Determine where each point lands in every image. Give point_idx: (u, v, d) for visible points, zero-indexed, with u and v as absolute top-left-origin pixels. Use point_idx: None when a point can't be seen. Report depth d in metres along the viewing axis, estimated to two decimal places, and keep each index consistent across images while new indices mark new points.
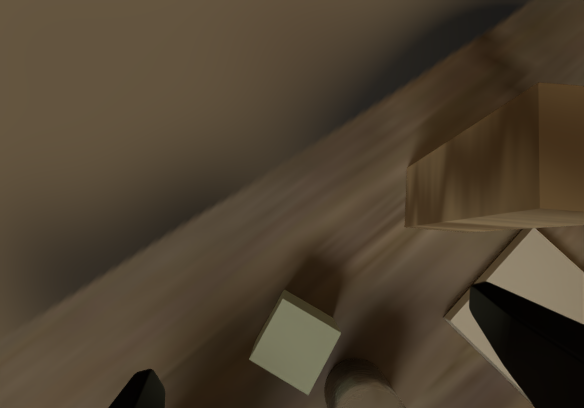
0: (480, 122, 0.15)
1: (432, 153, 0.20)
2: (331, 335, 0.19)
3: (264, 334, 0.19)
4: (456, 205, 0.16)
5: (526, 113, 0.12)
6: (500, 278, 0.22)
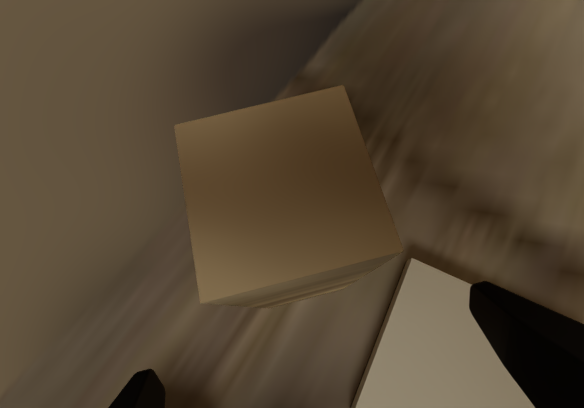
0: None
1: None
2: None
3: None
4: None
5: None
6: (395, 336, 0.17)
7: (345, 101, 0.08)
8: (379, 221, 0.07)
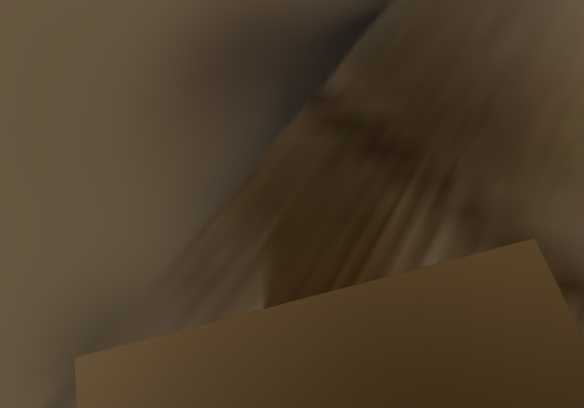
0: None
1: None
2: None
3: None
4: None
5: None
6: None
7: (552, 295, 0.03)
8: None
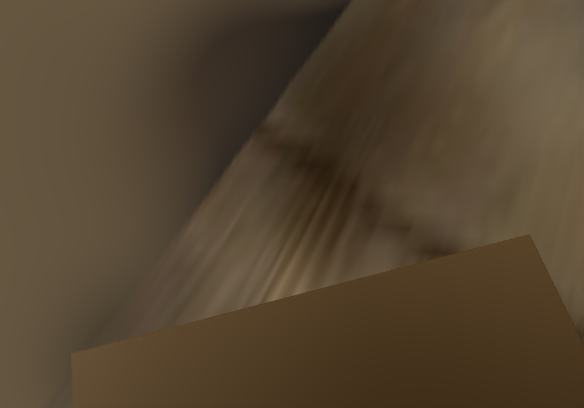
0: None
1: None
2: None
3: None
4: None
5: None
6: None
7: (546, 290, 0.03)
8: None
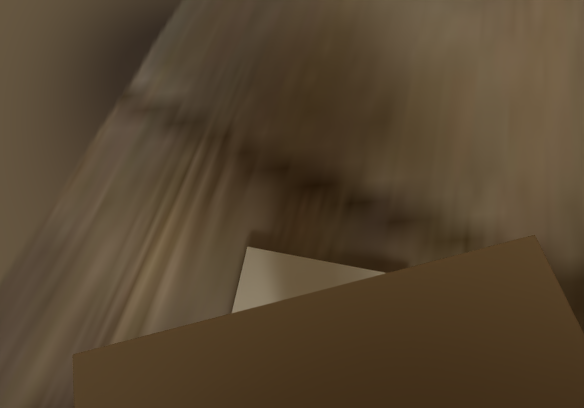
0: None
1: None
2: None
3: None
4: None
5: None
6: None
7: (552, 291, 0.03)
8: None
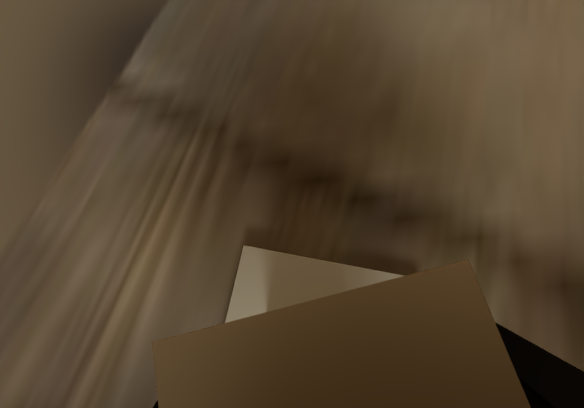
0: None
1: None
2: None
3: None
4: None
5: None
6: None
7: (477, 298, 0.04)
8: None
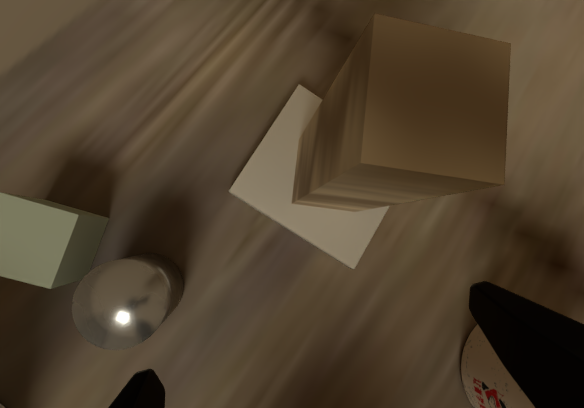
0: (339, 74, 0.13)
1: (311, 118, 0.18)
2: (67, 220, 0.17)
3: None
4: (317, 172, 0.14)
5: (364, 53, 0.10)
6: (273, 139, 0.22)
7: (507, 58, 0.10)
8: (496, 158, 0.10)
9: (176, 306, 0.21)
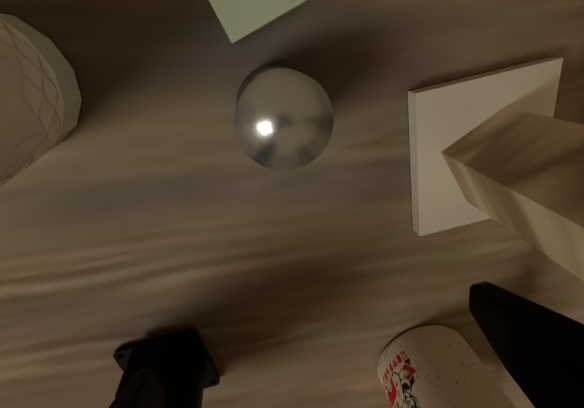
0: None
1: (567, 122, 0.16)
2: None
3: None
4: (553, 192, 0.14)
5: None
6: (490, 85, 0.19)
7: None
8: None
9: None
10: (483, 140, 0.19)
